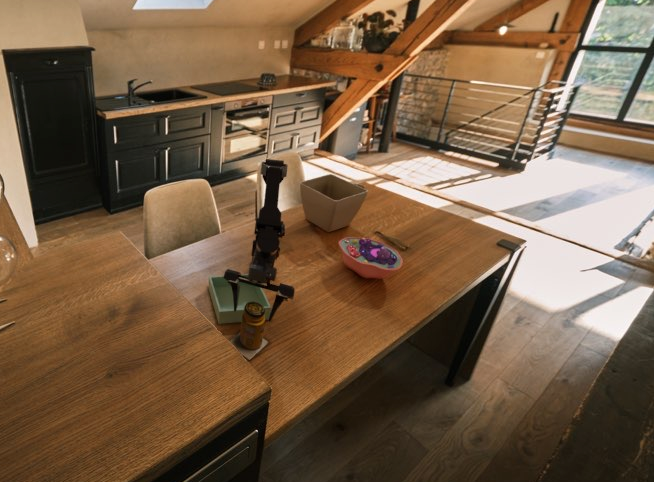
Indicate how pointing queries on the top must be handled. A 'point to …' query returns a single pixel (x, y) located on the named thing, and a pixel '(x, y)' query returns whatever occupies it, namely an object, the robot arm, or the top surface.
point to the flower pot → (331, 201)
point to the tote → (224, 299)
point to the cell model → (369, 257)
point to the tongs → (394, 240)
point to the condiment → (251, 330)
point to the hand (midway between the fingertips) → (251, 316)
